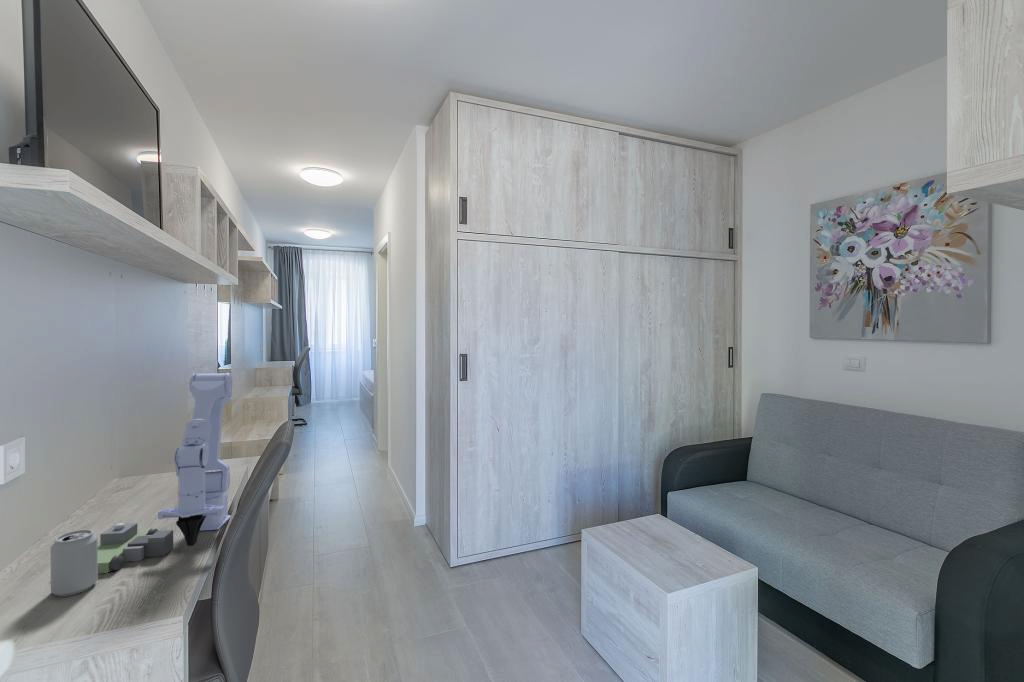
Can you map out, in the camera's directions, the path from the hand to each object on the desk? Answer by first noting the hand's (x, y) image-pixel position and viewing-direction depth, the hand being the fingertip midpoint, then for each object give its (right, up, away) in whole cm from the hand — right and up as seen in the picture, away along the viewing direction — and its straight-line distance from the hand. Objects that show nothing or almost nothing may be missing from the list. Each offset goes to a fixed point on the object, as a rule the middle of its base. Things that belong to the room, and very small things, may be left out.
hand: (191, 544), depth 120 cm
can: (-13, -2, -18) cm, 22 cm away
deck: (-16, -2, -3) cm, 17 cm away
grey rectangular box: (-9, -1, -2) cm, 9 cm away
